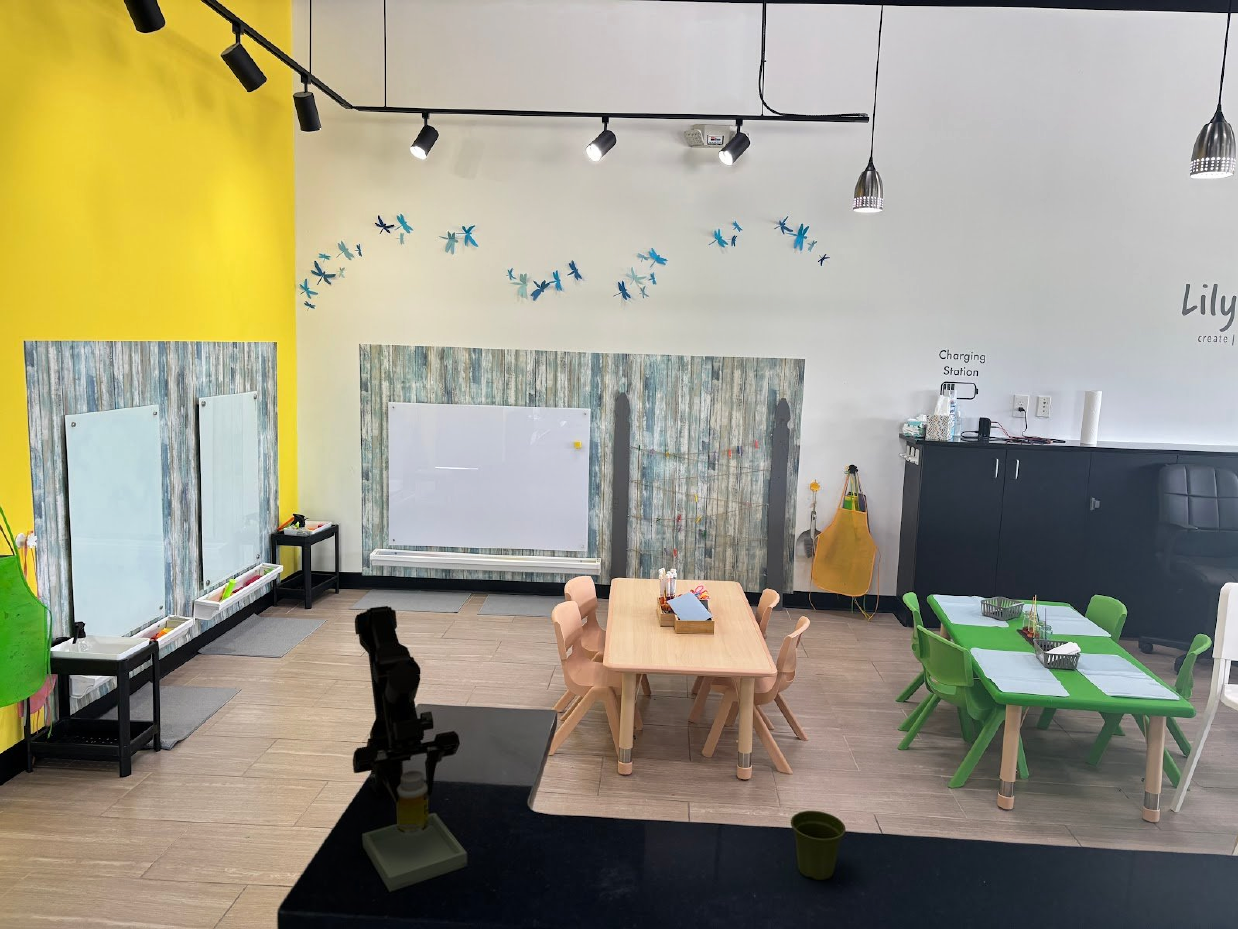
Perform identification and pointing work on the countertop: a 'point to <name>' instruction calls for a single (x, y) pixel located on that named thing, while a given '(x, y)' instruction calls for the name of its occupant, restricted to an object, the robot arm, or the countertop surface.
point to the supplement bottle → (412, 804)
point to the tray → (413, 853)
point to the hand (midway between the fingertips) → (413, 798)
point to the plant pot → (817, 842)
